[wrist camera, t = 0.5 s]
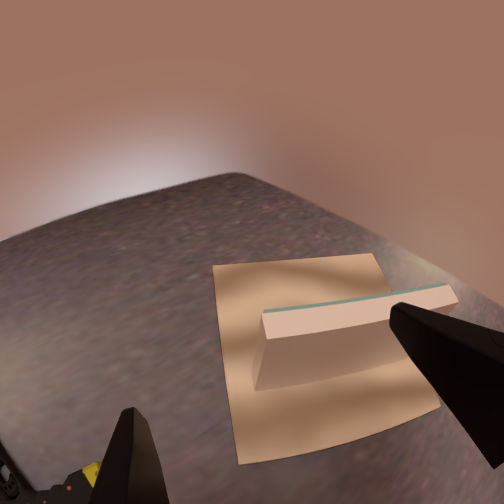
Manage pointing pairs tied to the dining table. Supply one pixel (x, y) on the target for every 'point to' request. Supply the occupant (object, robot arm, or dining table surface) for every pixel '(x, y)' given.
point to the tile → (335, 337)
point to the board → (315, 393)
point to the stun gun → (54, 500)
